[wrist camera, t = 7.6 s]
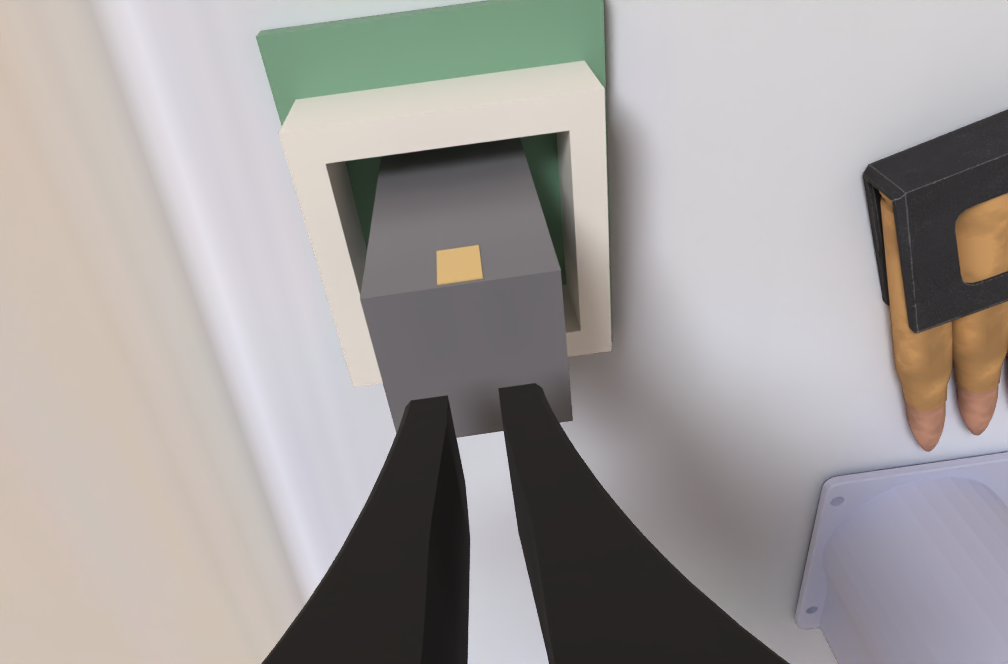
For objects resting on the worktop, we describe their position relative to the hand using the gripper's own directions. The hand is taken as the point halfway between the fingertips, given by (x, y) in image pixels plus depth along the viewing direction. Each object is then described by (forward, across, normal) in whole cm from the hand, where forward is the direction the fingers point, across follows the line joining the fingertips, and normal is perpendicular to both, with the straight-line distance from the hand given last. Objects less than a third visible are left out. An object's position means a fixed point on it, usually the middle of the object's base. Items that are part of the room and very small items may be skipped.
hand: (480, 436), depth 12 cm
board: (+9, 0, 0) cm, 9 cm away
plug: (+9, 0, 0) cm, 9 cm away
